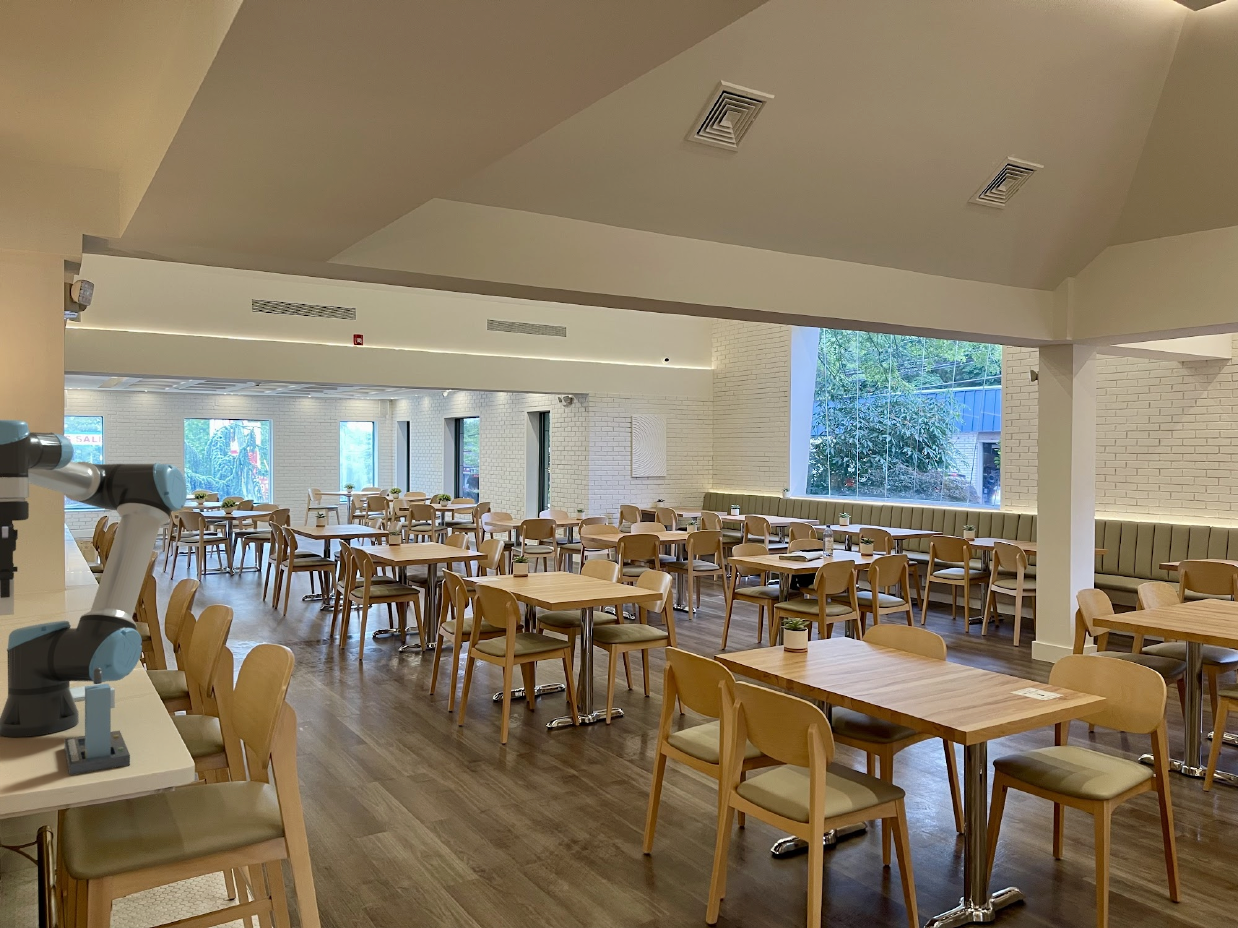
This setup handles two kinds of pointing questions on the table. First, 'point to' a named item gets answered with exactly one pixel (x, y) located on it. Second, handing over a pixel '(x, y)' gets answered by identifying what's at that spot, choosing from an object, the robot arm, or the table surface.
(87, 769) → the port panel
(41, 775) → the table surface
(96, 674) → the plug
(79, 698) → the hard drive
